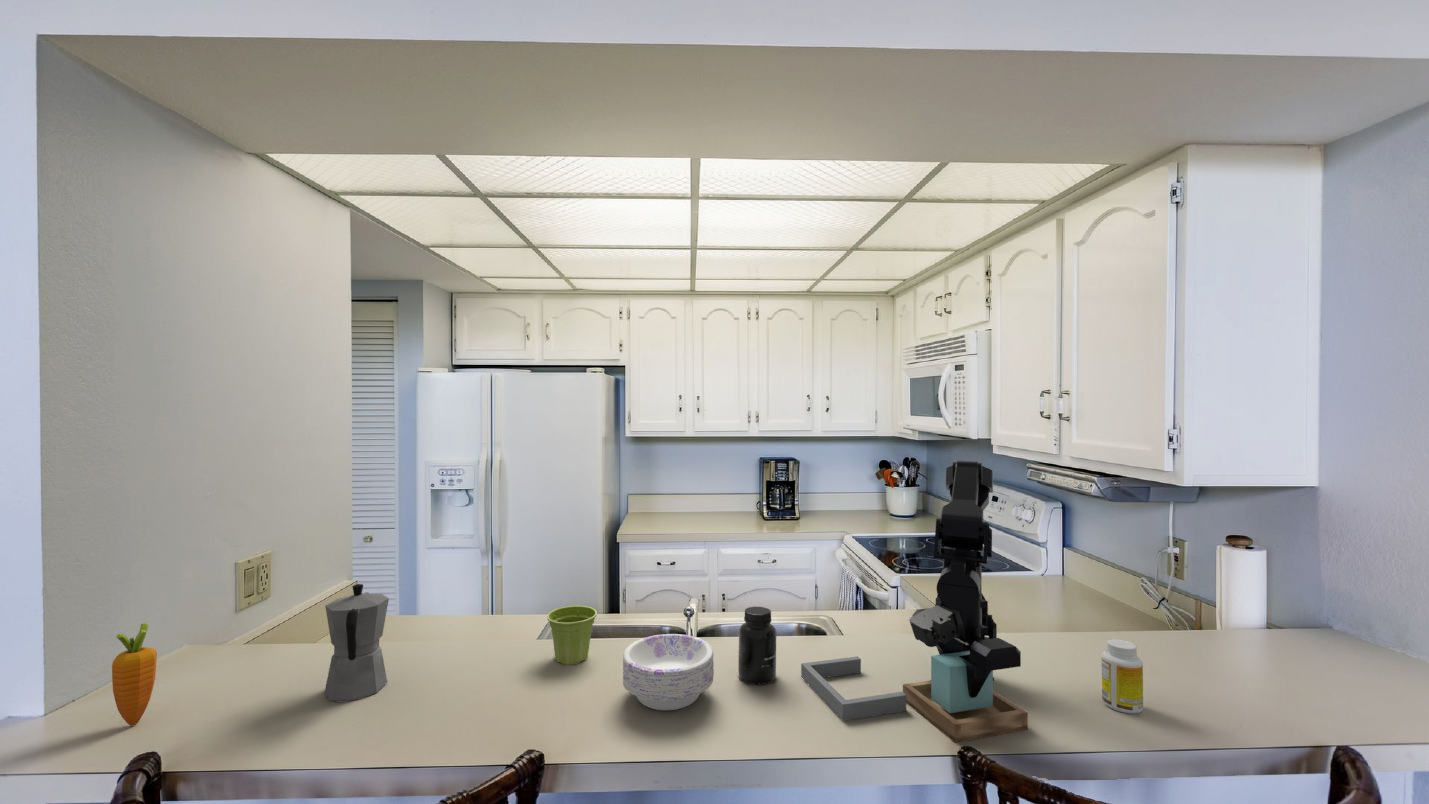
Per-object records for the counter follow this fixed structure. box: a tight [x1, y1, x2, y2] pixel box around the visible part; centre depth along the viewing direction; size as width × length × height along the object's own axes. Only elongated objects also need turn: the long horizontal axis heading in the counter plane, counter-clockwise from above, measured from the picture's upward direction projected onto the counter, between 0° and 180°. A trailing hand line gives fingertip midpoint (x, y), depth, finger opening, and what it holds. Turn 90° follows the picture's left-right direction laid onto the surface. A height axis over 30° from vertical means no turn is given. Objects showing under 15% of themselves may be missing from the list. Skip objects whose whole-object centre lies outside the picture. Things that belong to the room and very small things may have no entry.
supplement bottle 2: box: [1101, 638, 1144, 715], centre depth 96 cm, size 6×6×10 cm
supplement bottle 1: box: [737, 606, 777, 685], centre depth 106 cm, size 7×7×12 cm
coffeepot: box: [324, 583, 390, 703], centre depth 100 cm, size 15×9×18 cm, turn 25°
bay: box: [800, 655, 907, 722], centre depth 100 cm, size 11×15×2 cm
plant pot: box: [546, 605, 598, 666], centre depth 113 cm, size 9×9×9 cm
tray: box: [902, 679, 1029, 743], centre depth 93 cm, size 13×13×3 cm
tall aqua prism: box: [930, 651, 994, 713], centre depth 93 cm, size 9×4×7 cm, turn 106°
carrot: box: [111, 622, 158, 726], centre depth 89 cm, size 5×5×15 cm
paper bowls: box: [622, 633, 715, 712], centre depth 98 cm, size 15×15×8 cm
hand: (962, 689), depth 93 cm, fingers closed on tall aqua prism, 4 cm apart
